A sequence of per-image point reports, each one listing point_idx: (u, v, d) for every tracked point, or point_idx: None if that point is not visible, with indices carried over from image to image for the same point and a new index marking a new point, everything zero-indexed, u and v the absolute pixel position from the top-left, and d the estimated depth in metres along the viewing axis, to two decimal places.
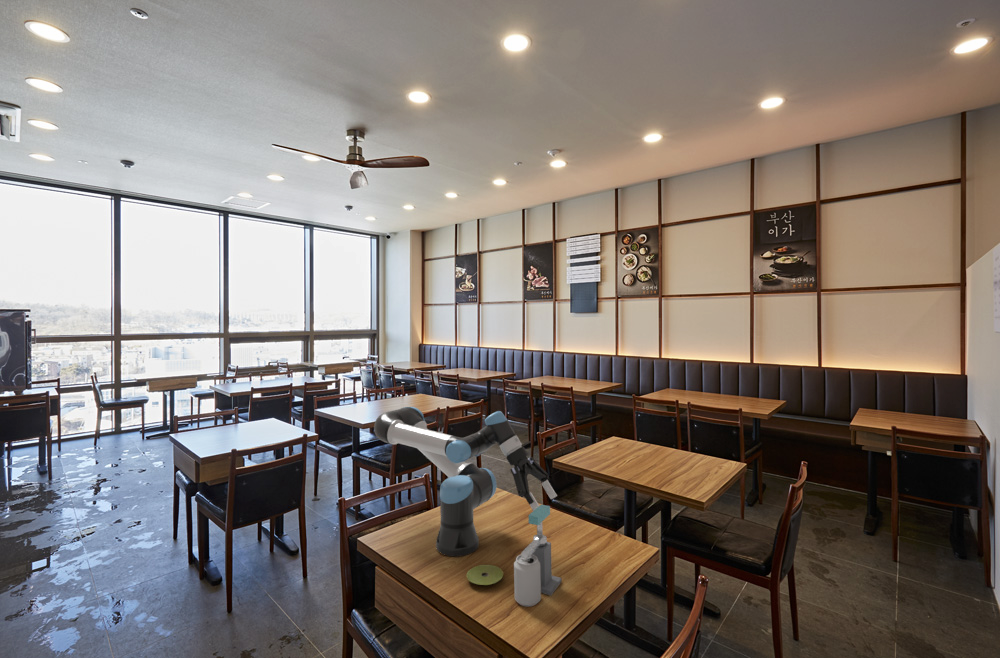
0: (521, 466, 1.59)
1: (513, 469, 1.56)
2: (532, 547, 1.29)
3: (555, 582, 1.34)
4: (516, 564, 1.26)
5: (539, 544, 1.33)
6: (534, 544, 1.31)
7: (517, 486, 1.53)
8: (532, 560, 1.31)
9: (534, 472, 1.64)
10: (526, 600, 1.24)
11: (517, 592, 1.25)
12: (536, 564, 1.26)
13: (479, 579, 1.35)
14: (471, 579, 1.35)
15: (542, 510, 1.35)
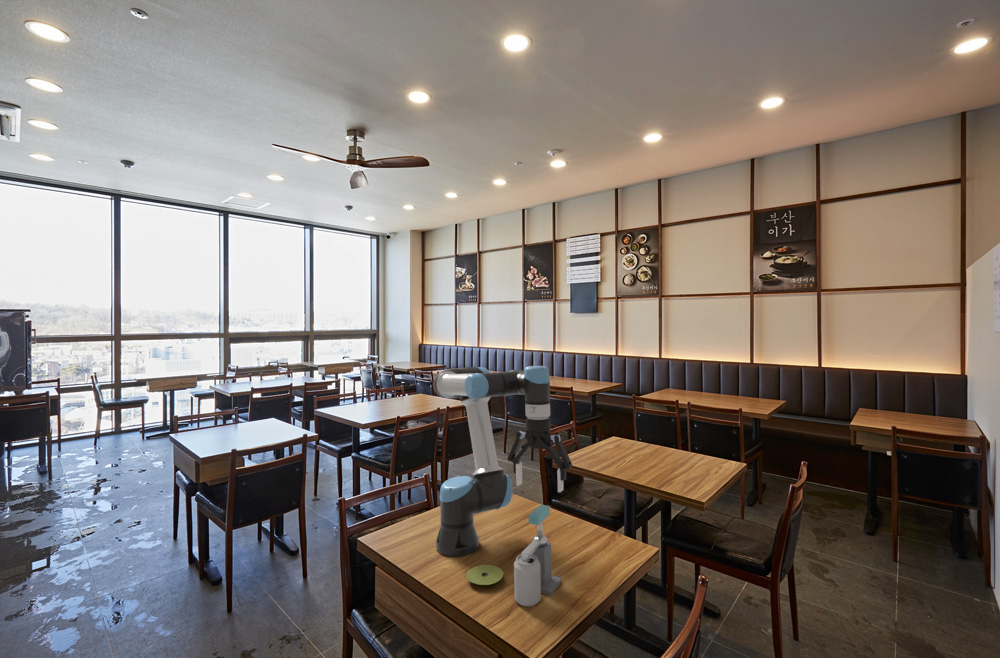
0: (528, 436, 1.36)
1: None
2: (532, 547, 1.29)
3: (555, 582, 1.34)
4: (516, 564, 1.26)
5: (539, 544, 1.33)
6: (534, 544, 1.31)
7: None
8: (532, 560, 1.31)
9: None
10: (526, 600, 1.24)
11: (517, 592, 1.25)
12: (536, 564, 1.26)
13: (479, 579, 1.35)
14: (471, 579, 1.35)
15: (542, 510, 1.35)
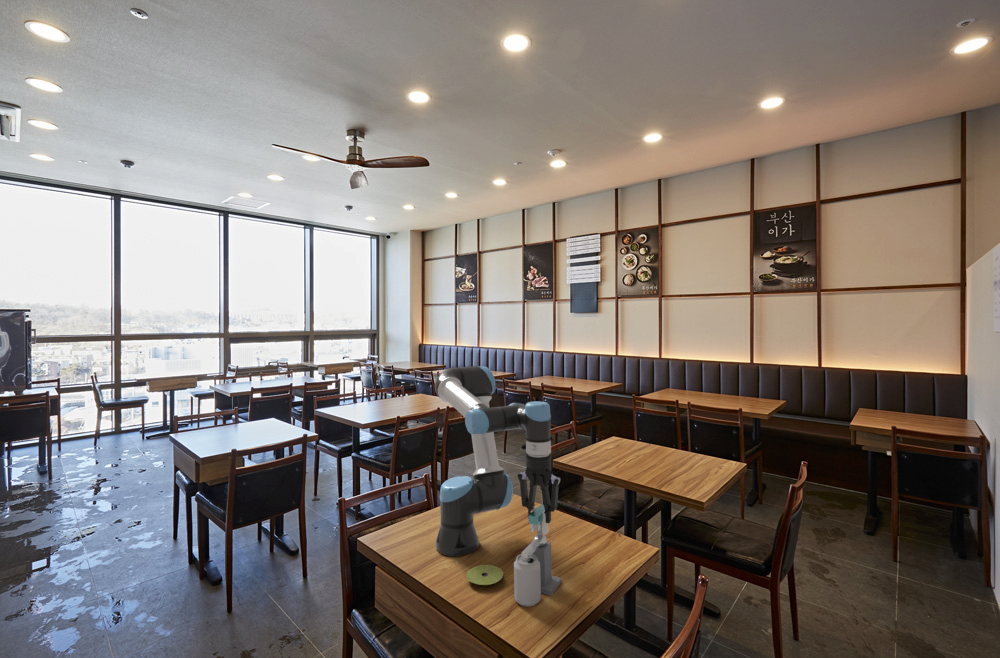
0: (528, 473, 1.36)
1: None
2: (532, 547, 1.29)
3: (555, 582, 1.34)
4: (516, 564, 1.26)
5: (539, 544, 1.33)
6: (534, 544, 1.31)
7: None
8: (532, 560, 1.31)
9: None
10: (526, 600, 1.24)
11: (517, 592, 1.25)
12: (536, 564, 1.26)
13: (479, 579, 1.35)
14: (471, 579, 1.35)
15: (542, 510, 1.35)
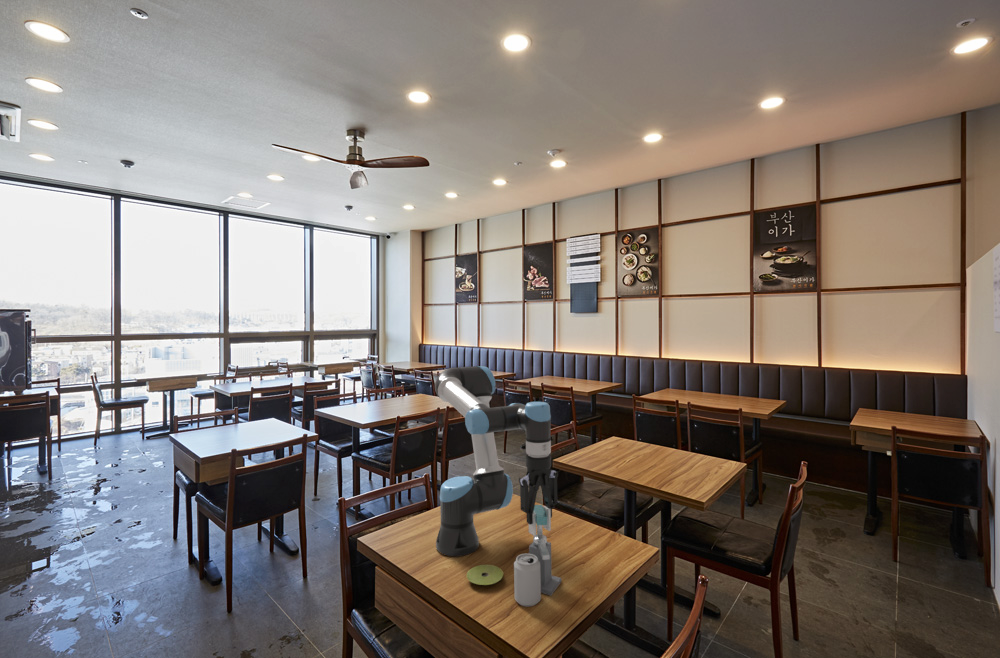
0: (533, 476, 1.33)
1: (521, 482, 1.32)
2: (545, 548, 1.29)
3: (555, 582, 1.34)
4: (516, 564, 1.26)
5: None
6: (543, 545, 1.31)
7: (521, 500, 1.33)
8: (532, 560, 1.31)
9: (544, 489, 1.36)
10: (526, 600, 1.24)
11: (517, 592, 1.25)
12: (536, 564, 1.26)
13: (479, 579, 1.35)
14: (471, 579, 1.35)
15: (541, 509, 1.36)
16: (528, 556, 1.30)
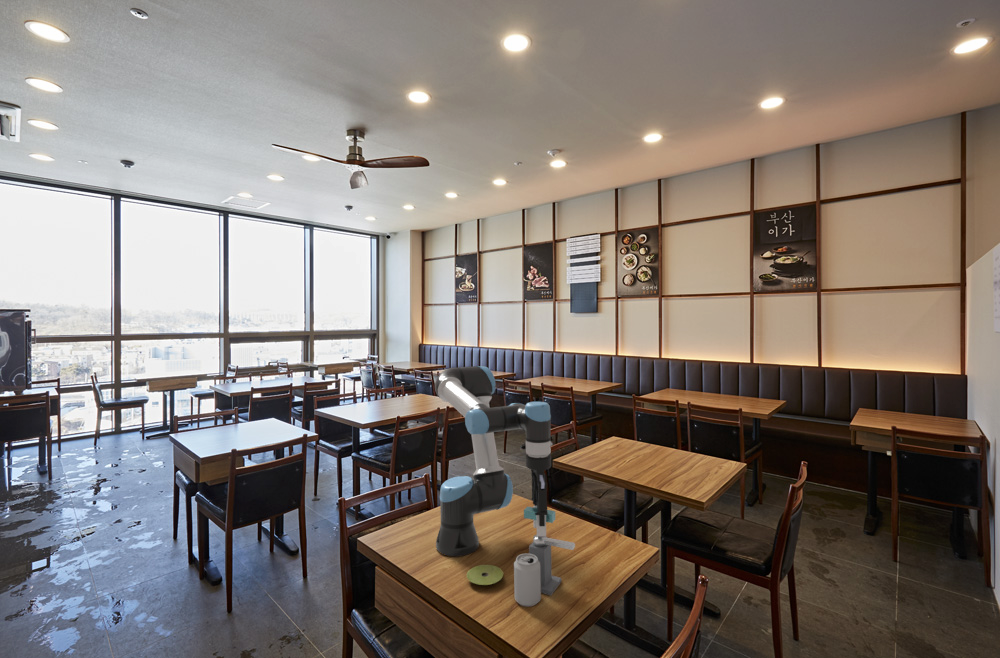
0: None
1: (543, 484, 1.29)
2: (561, 541, 1.33)
3: (555, 582, 1.34)
4: (516, 564, 1.26)
5: None
6: (554, 540, 1.34)
7: (540, 504, 1.29)
8: (532, 560, 1.31)
9: None
10: (526, 600, 1.24)
11: (517, 592, 1.25)
12: (536, 564, 1.26)
13: (479, 579, 1.35)
14: (471, 579, 1.35)
15: None
16: (528, 556, 1.30)
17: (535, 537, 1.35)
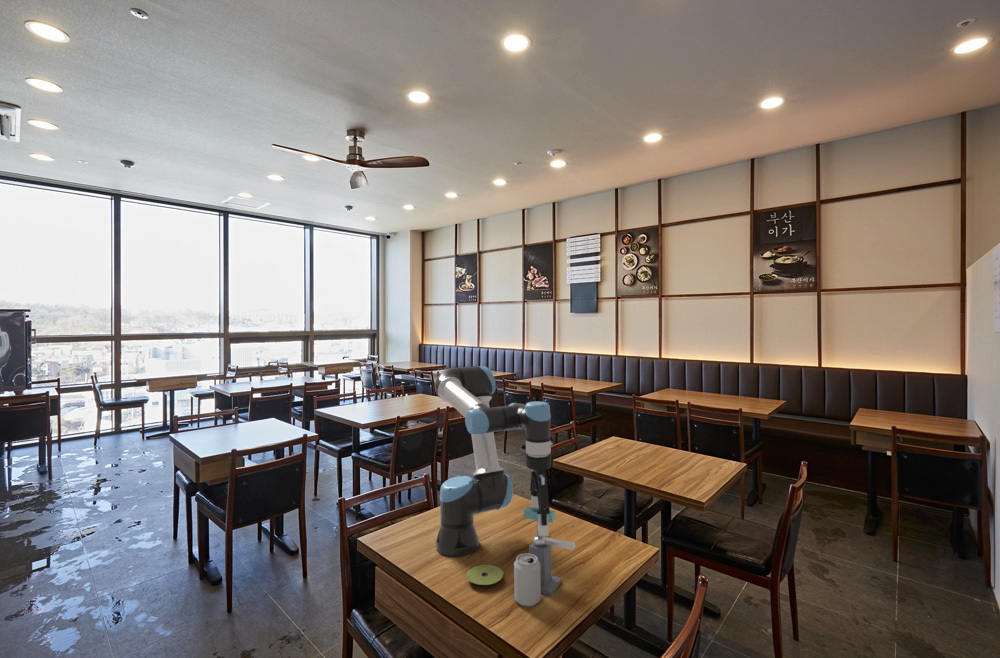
0: (544, 476, 1.32)
1: (543, 480, 1.28)
2: (561, 540, 1.33)
3: (555, 582, 1.34)
4: (516, 564, 1.26)
5: None
6: (554, 540, 1.34)
7: (542, 502, 1.27)
8: (532, 560, 1.31)
9: None
10: (526, 600, 1.24)
11: (517, 592, 1.25)
12: (536, 564, 1.26)
13: (479, 579, 1.35)
14: (471, 579, 1.35)
15: (538, 509, 1.36)
16: (528, 556, 1.30)
17: (535, 537, 1.35)
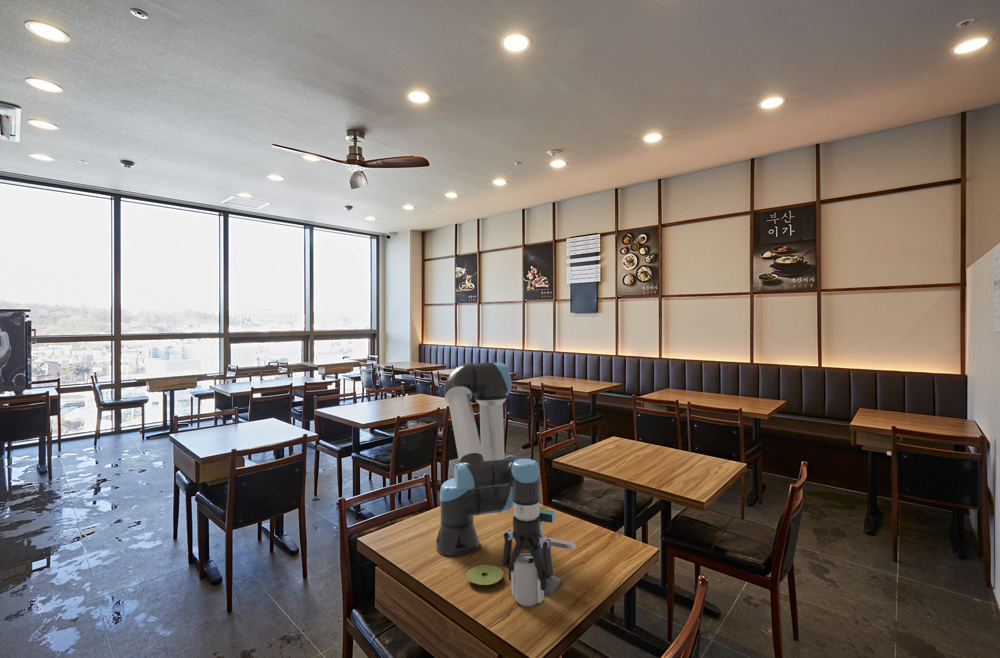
0: (515, 536, 1.28)
1: None
2: (561, 540, 1.33)
3: (555, 582, 1.34)
4: (516, 564, 1.26)
5: None
6: (554, 540, 1.34)
7: None
8: (532, 560, 1.31)
9: None
10: (527, 600, 1.24)
11: (517, 592, 1.25)
12: None
13: (479, 579, 1.35)
14: (471, 579, 1.35)
15: None
16: (528, 556, 1.30)
17: None
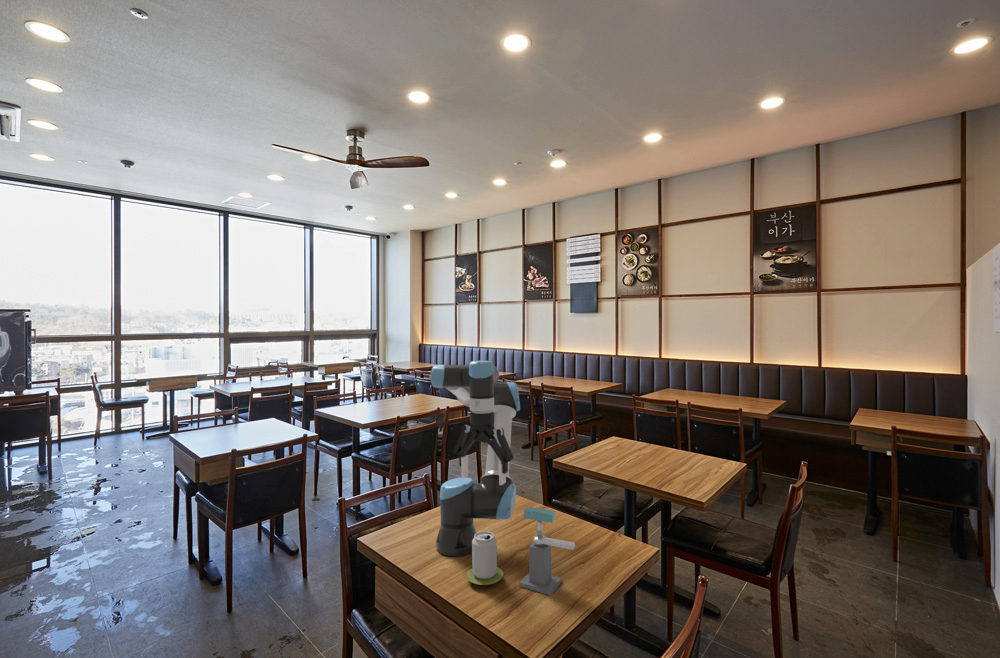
0: (472, 430, 1.38)
1: None
2: (561, 540, 1.33)
3: (555, 582, 1.34)
4: (474, 540, 1.37)
5: None
6: (554, 540, 1.34)
7: None
8: (490, 537, 1.41)
9: None
10: (482, 573, 1.34)
11: (474, 566, 1.36)
12: (492, 540, 1.36)
13: (479, 579, 1.35)
14: (471, 579, 1.35)
15: (538, 509, 1.36)
16: (486, 533, 1.40)
17: (535, 537, 1.35)
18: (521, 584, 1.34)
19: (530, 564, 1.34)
